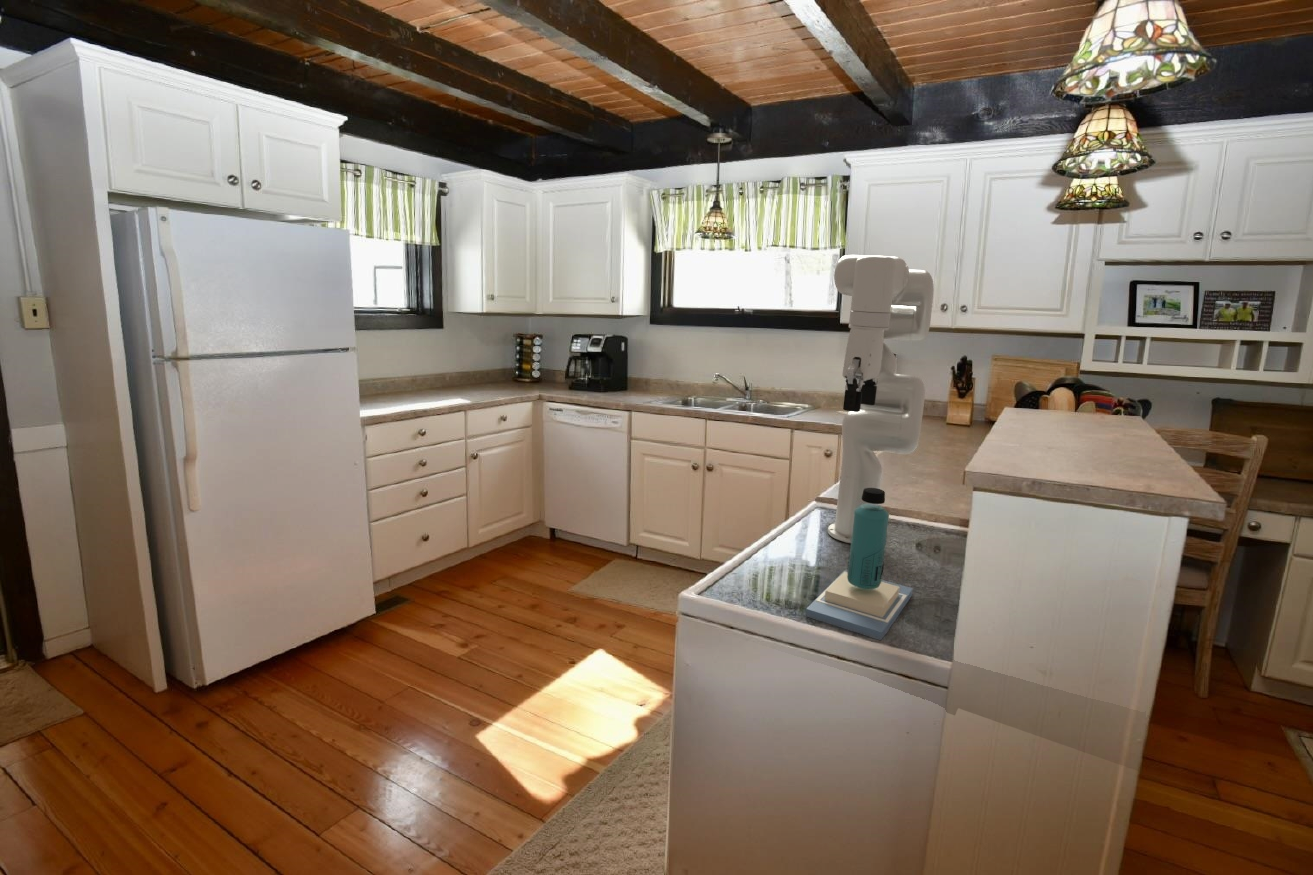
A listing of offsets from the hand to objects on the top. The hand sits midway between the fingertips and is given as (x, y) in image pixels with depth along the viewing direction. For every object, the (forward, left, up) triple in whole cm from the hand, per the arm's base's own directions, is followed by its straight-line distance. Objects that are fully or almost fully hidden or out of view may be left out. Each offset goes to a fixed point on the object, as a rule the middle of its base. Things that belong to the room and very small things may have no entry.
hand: (859, 407), depth 139 cm
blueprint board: (+11, +8, -36) cm, 39 cm away
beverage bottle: (+11, +8, -33) cm, 36 cm away
